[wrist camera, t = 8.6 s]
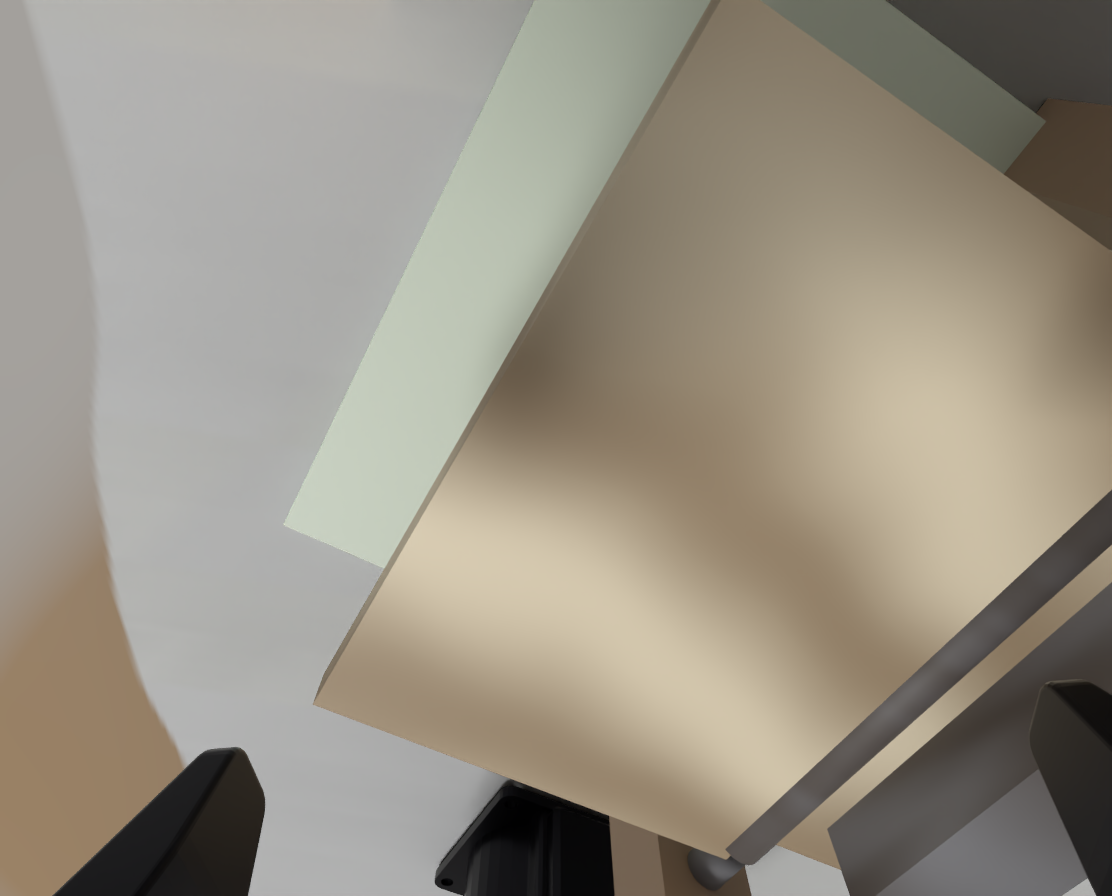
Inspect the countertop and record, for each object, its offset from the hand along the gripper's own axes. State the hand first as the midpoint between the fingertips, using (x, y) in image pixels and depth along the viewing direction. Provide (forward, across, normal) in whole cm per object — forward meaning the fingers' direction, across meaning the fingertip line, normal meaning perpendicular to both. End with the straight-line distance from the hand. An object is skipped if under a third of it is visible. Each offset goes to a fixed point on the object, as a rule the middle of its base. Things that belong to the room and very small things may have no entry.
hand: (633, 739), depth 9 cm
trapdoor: (+6, -4, +3) cm, 7 cm away
